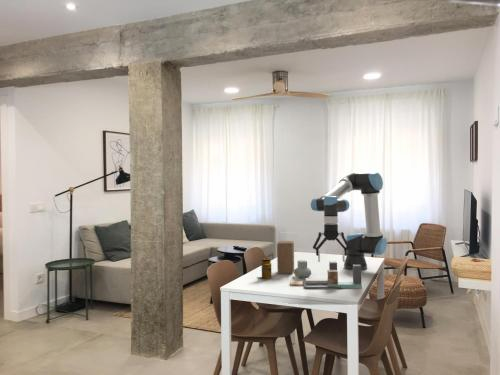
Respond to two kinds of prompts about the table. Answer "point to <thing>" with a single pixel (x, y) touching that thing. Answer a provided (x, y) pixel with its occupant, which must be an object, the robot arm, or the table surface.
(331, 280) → the walnut block
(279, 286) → the table surface
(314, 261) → the table surface
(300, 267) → the air freshener
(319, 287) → the lane rails
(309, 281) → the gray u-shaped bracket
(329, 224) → the robot arm
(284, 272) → the wooden block
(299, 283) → the cork trivet
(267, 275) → the condiment
